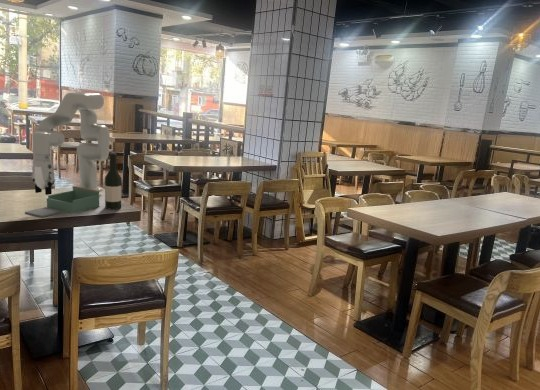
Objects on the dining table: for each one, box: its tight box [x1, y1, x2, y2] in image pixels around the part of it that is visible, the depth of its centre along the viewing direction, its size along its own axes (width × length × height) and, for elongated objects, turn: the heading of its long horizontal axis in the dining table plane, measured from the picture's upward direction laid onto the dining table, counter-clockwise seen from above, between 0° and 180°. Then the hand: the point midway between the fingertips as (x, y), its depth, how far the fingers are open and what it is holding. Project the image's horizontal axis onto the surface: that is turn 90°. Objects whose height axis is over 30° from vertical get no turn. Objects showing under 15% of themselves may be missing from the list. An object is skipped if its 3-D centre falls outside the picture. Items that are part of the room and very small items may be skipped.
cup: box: [35, 166, 50, 190], centre depth 216 cm, size 7×7×21 cm
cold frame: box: [46, 185, 101, 214], centre depth 232 cm, size 18×18×9 cm
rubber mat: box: [24, 206, 64, 218], centre depth 219 cm, size 12×12×1 cm
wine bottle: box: [104, 152, 122, 211], centre depth 235 cm, size 8×8×30 cm
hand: (43, 193), depth 217 cm, fingers closed on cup, 6 cm apart
